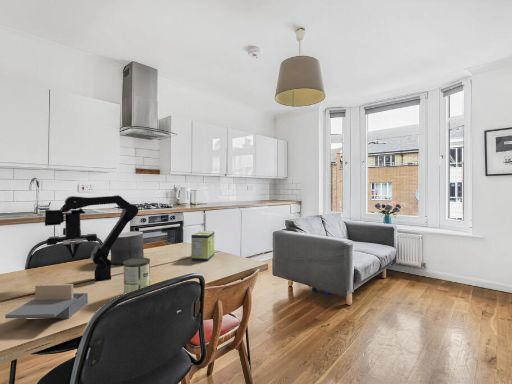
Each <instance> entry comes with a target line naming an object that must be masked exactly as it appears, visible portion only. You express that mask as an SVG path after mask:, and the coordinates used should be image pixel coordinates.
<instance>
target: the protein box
mask: <svg viewBox="0 0 512 384" xmlns="http://www.w3.org/2000/svg"><path fill="white" fill-rule="evenodd" d="M190 242H191V247H190V249H191V250H190V251H191V257H190V258H191V261H193V262H195V261H197V262H198V261H200V262H202V261H203V262H209V261H210V260H211V259H212V258H213V257H214V256H215V231H211V230H206V231H205V230H198V231H197V232H194V233H193V234H191V241H190Z"/></svg>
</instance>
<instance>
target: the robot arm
mask: <svg viewBox="0 0 512 384" xmlns="http://www.w3.org/2000/svg"><path fill="white" fill-rule="evenodd" d="M110 204H111V205H112V204H115V205H117V206H118V207H119V208H120V209H121V213H120V215H119V218H118V220H117V221H116V224H115V225H114V226H113V227H112V229H111V230H110V232H109V233H108V235H107V236H106V238H105V239H104V241H103V242H102V244H100V245H99V246H98V245H97V244H96V245H95V246H94V248H93V250H92V251H91V252H90V253H91V255H90V260H91V261H92V262H93V264H95V269H94V279H95V281H96V282H98V281H105V280H106V281H108V280H111V279H112V270H111V269H112V268H111V266H112V262H111V259H109V258H108V257H109V256H110V253H111V252H110V249H111V247H112V245H113V244H114V242H115V241H116V239H117V238H118V236H119V235H120V233H122V232H123V230H124V229H125V227H126V226H127V224H128V223H129V222H131V221H132V220H133V219H134V218H135V217H136V216H137V215H138V214H139V208H138V206H137V205H135V204H132V203H130V202H128V201H127V200H125V199H124V198H123V197H122V196H121V195H119V194H118V195H117V194H115V195H108V196H95V197H94V196H93V197H92V196H91V197H90V196H89V197H88V196H87V197H86V196H76V195H75V196H74V195H71V196H67V197H66V198H65V200H64V204H63V205H62V207H60V209H54V210H53V209H45V211H44V226H45V227H48V226H60V225H62V224H63V223H64V222H65V226H64V227H63V228H62V235H63V236H65V237H60V236H58V235H56V236H55V235H54V236H49V237H48V238H47V240H46V246H55V245H57V244H58V243H63V244H62V246H63V247H66V249H67V250H68V252H69V255H70V256H71V258H72V259H75V258H76V254H77V251H78V249H79V247H80V245H83V244H84V241H87V242H88V243H91V242H92V243H93V242H97V241H98V235H97V233H88V234H87V235H84V236H82V230H81V229H82V228H81V214H82V215H83V214H86V212H85V211H84V210H83V209H82V208H87V207H89V206H101V205H110ZM69 211H70V212H69ZM73 242H74V246H73Z"/></svg>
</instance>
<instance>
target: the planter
mask: <svg viewBox="0 0 512 384" xmlns="http://www.w3.org/2000/svg"><path fill="white" fill-rule="evenodd" d="M109 253H110V261H111V262H112V264H113V265H118V266H120V265H123V266H124V264H123V262H124V261H125V260H128V259H132V258H145V256H144V254H145V253H144V232H143V231H124V232H123V231H122V232H121V233H120V235H119V236H118V238H117V239H116V241H115V242H114V244H113V245H112V247H111V249H110V252H109ZM112 264H111V265H112Z"/></svg>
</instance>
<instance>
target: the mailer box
mask: <svg viewBox="0 0 512 384" xmlns="http://www.w3.org/2000/svg"><path fill="white" fill-rule="evenodd" d="M73 298H77V301H75V302H74V303H73V304H71V305H70V306H69V307H67V308H66V309H65V310H63V311H62V312H61V313H59V314H58V315H57V316H55V317H41V318H62V319H70V318H71V317H72V315H73V314H74V315H75V314H76V313H77V312H79V311H80V310H82V308H83V306H84V307H85V306H86V305H87V304H89V303H88V302H89V301H88V299H89V297H88V292H73ZM78 310H79V311H78ZM74 315H73V316H74ZM69 317H70V318H69Z"/></svg>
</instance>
